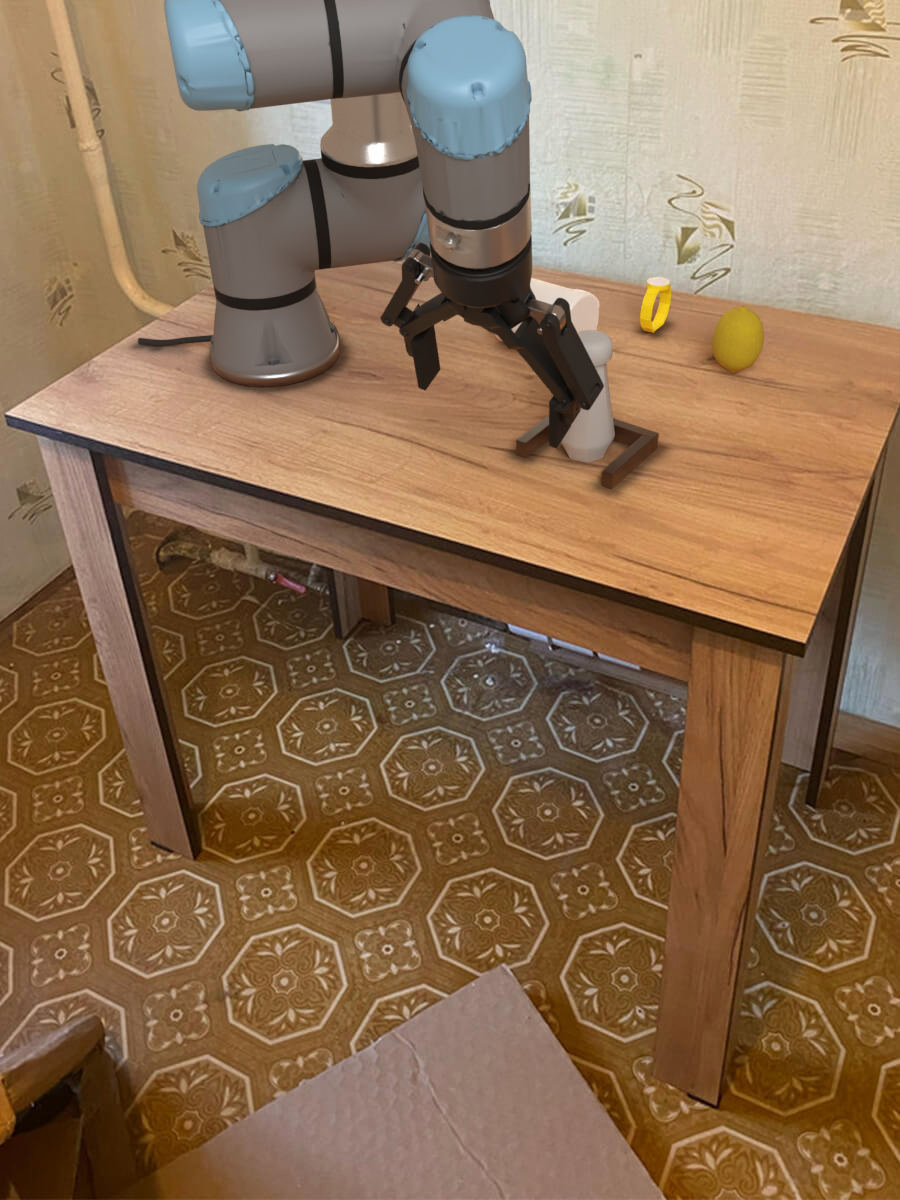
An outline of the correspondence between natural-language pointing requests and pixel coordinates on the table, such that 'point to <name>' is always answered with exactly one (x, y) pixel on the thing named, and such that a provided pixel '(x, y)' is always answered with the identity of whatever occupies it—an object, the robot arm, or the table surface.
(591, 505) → the table surface
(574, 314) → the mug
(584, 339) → the salt shaker
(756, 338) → the lemon
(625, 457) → the walnut stop
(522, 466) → the table surface
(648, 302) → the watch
